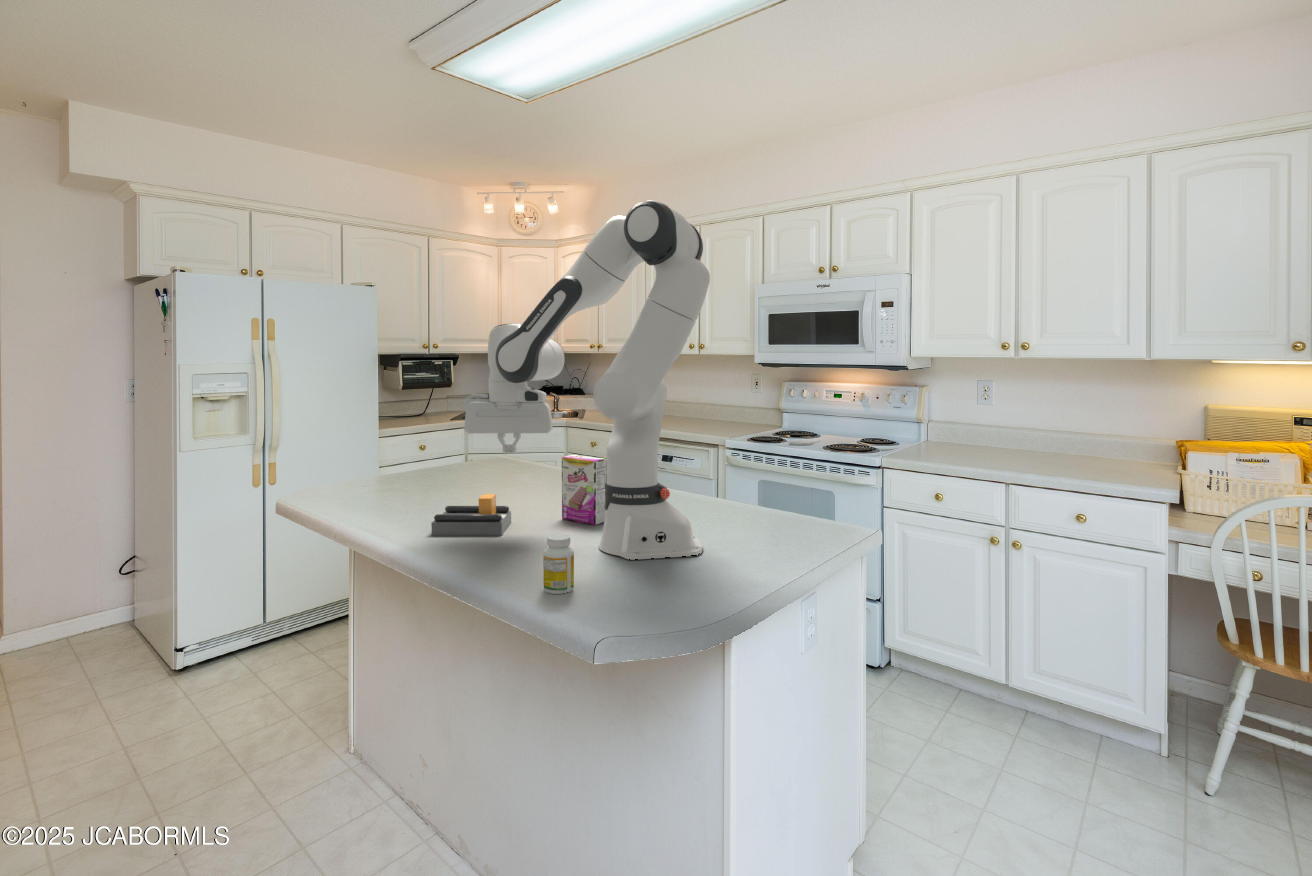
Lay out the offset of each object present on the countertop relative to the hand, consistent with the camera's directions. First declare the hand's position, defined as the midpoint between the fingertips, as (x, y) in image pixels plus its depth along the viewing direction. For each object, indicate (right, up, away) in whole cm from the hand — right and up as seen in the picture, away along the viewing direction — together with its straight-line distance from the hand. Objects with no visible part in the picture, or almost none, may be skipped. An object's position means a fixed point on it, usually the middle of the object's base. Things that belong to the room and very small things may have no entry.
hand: (509, 452), depth 152 cm
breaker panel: (-9, -19, +2) cm, 21 cm away
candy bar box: (+16, -18, +11) cm, 27 cm away
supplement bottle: (+18, -24, -39) cm, 49 cm away
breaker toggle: (-6, -15, +2) cm, 16 cm away
